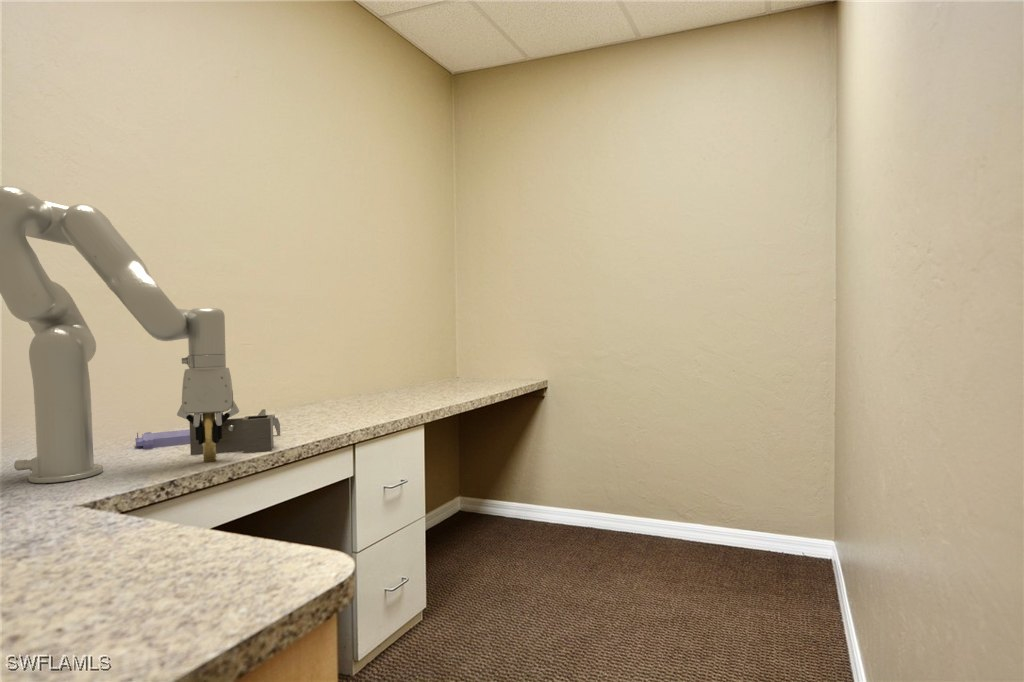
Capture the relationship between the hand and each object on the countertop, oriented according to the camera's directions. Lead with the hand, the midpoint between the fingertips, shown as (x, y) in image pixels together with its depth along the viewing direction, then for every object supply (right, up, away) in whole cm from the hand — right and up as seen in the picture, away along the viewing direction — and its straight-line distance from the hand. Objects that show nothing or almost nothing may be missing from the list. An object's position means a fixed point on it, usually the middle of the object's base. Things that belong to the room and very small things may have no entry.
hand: (209, 442), depth 139 cm
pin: (0, -4, 0) cm, 4 cm away
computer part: (-16, -5, +28) cm, 33 cm away
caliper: (-4, -4, +26) cm, 26 cm away
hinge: (-1, -4, +16) cm, 17 cm away
